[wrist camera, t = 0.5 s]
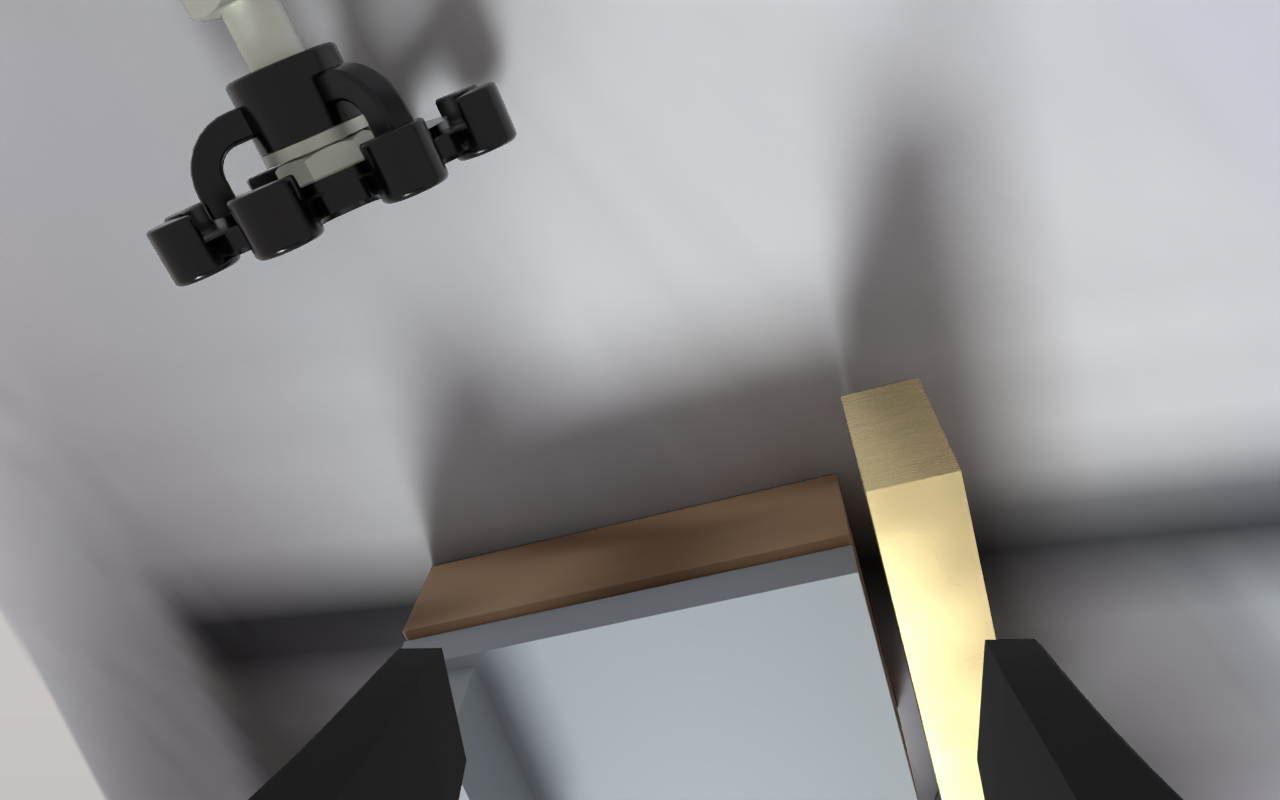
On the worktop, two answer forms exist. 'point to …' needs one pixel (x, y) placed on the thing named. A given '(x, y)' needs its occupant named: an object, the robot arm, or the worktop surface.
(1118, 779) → the robot arm
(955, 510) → the bar
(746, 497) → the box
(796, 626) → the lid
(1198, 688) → the worktop surface
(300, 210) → the valve
